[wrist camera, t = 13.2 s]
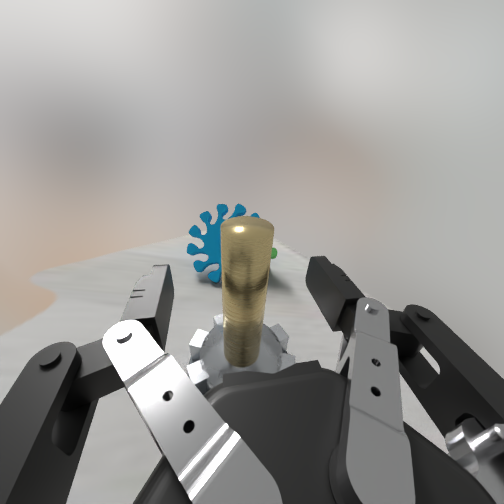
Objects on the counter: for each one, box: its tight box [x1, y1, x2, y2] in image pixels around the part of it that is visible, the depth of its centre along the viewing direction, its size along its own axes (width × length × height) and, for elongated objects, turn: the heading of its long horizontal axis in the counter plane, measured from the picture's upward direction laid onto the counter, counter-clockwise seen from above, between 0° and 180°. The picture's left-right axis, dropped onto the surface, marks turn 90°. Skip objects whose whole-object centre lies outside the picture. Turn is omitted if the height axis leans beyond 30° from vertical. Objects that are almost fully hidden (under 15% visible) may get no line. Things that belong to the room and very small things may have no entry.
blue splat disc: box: [187, 204, 277, 283], centre depth 28 cm, size 11×6×10 cm
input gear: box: [187, 216, 295, 395], centre depth 14 cm, size 8×8×12 cm
